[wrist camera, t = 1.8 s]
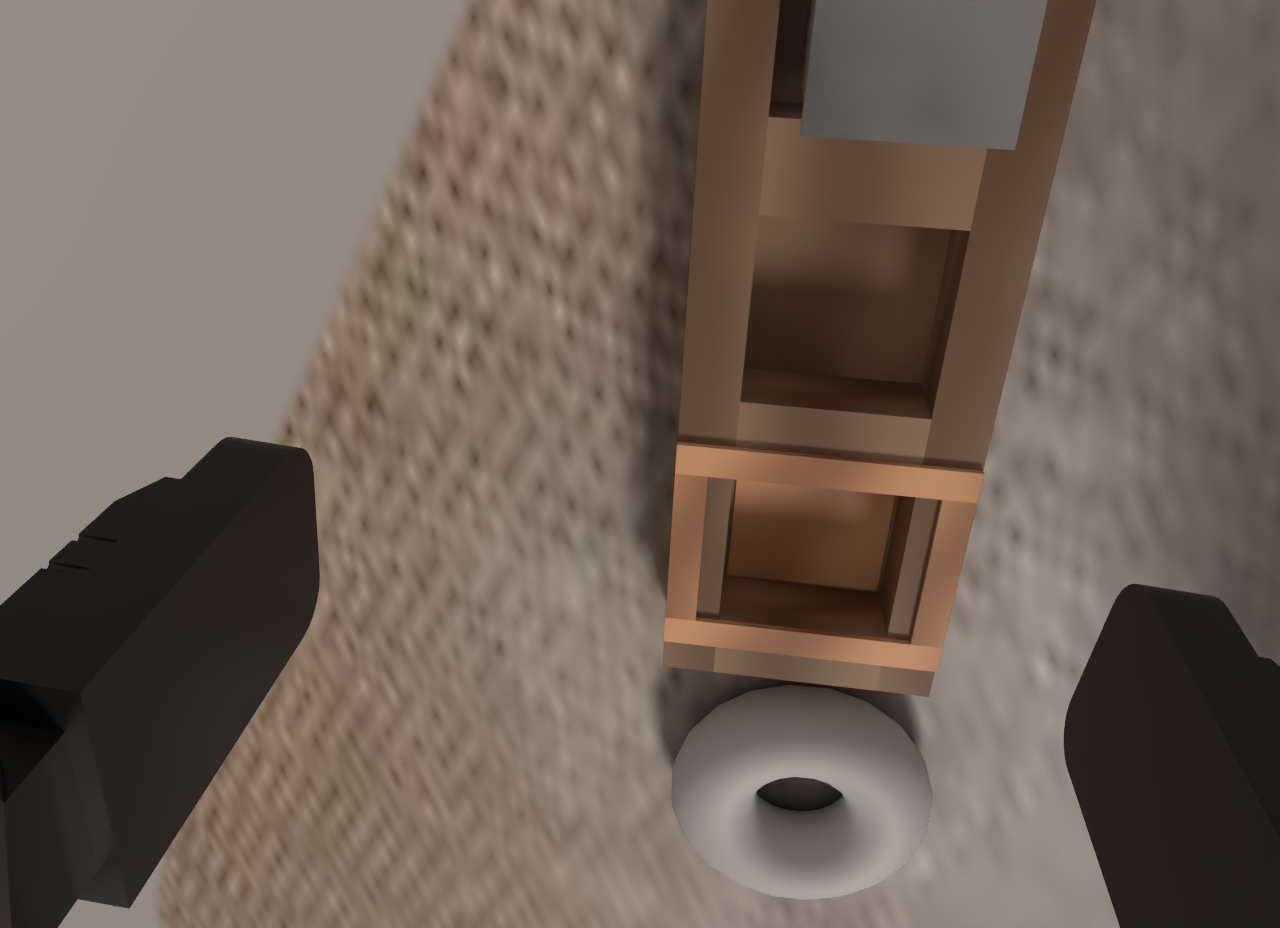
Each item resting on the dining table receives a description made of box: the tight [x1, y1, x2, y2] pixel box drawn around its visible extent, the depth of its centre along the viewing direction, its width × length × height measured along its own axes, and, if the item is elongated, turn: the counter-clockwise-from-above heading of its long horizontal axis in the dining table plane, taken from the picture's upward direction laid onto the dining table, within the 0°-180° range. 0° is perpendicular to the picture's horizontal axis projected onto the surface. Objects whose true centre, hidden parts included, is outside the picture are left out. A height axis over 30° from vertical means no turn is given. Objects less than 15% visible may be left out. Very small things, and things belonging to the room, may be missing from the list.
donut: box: [672, 685, 933, 900], centre depth 39 cm, size 10×4×10 cm
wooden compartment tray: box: [663, 0, 1096, 697], centre depth 29 cm, size 9×26×3 cm, turn 178°
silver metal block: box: [800, 0, 1048, 150], centre depth 22 cm, size 4×4×8 cm
